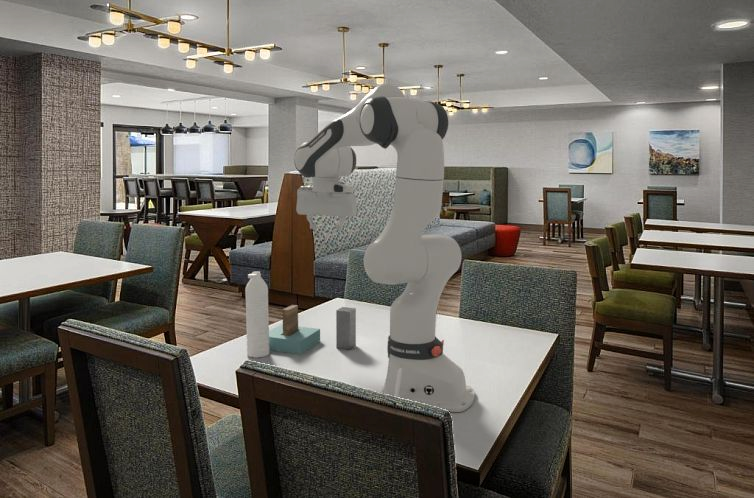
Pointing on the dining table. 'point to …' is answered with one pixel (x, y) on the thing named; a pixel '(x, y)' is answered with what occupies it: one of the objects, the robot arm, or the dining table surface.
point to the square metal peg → (346, 328)
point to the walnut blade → (290, 320)
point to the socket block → (293, 339)
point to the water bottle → (257, 316)
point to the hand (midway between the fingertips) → (326, 229)
